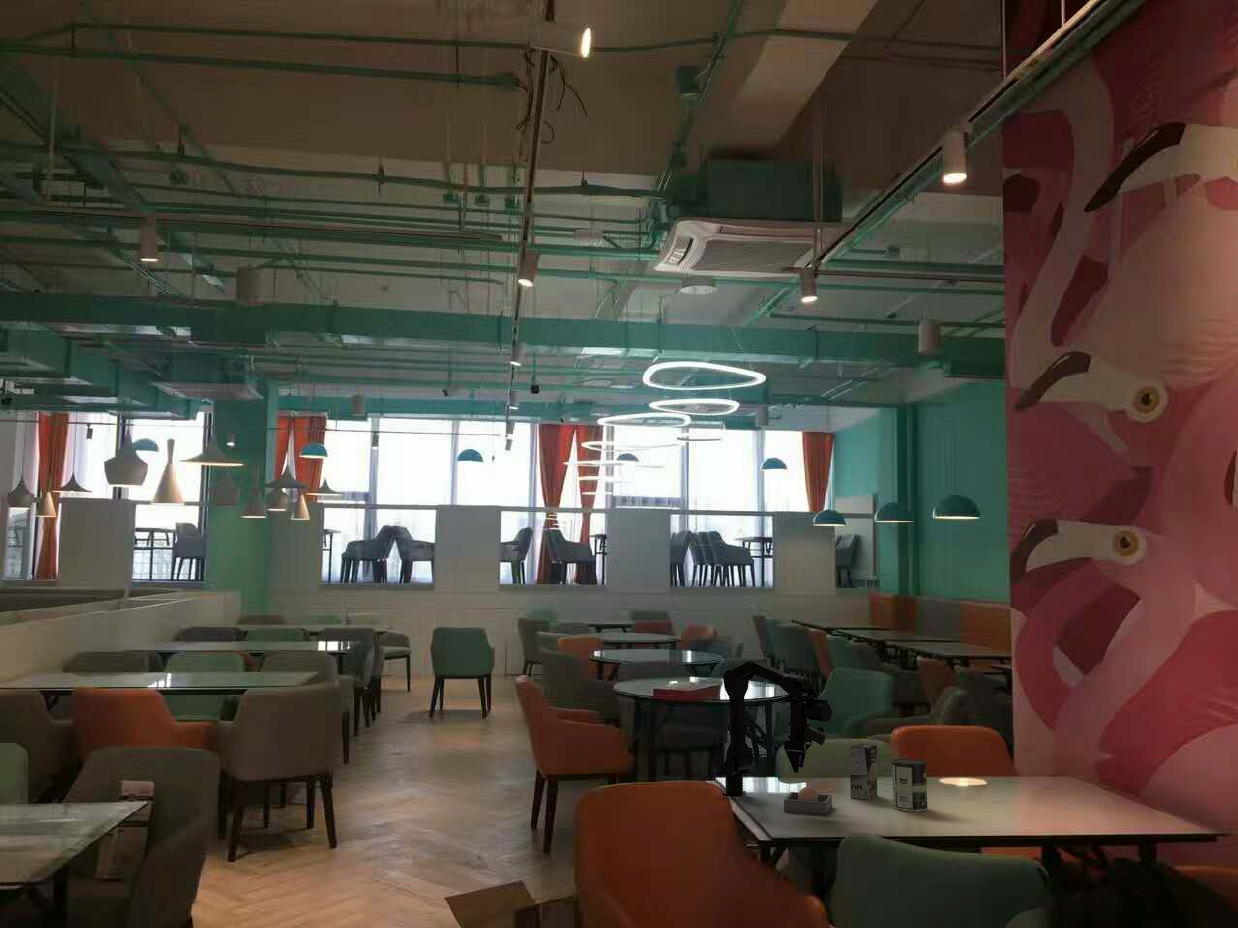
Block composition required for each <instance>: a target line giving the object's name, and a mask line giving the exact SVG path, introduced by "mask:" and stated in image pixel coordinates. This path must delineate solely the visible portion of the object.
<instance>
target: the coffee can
mask: <svg viewBox="0 0 1238 928" xmlns="http://www.w3.org/2000/svg"><path fill="white" fill-rule="evenodd" d="M891 764H892V765H891V766H892V768H891V769H892V797H893V799H892V801H893V804H892V805H893V807H894V808H895V809H894V808H893V807H892V808H893V809H894V810H897V809H898V810H897V811H900V810H903V812H908V811H909V813H910V812H911V813H922V812H926V811H928V784H927V783H928V779H927V778H928V777H927V764H928V763H927V761H925V760H923V759H914V758H895V759H892V760H891Z"/></svg>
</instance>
